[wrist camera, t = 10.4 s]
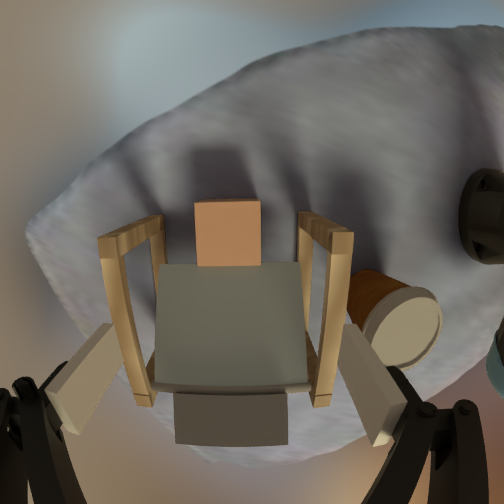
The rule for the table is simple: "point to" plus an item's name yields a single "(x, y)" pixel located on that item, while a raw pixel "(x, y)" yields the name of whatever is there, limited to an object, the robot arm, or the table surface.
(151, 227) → the frame
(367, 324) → the disposable coffee cup
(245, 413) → the trapdoor
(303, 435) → the table surface
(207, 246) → the block
